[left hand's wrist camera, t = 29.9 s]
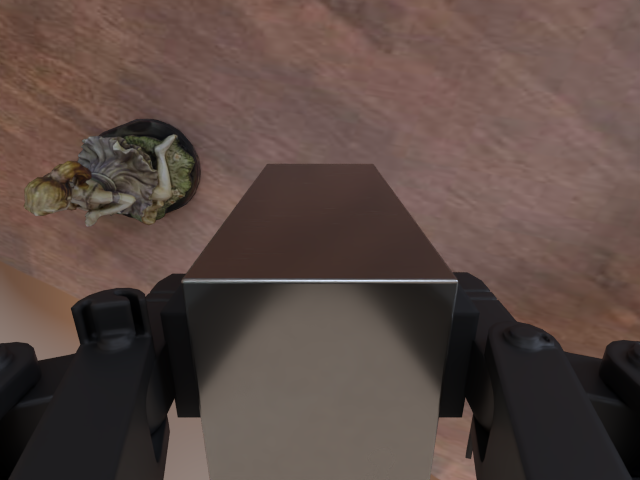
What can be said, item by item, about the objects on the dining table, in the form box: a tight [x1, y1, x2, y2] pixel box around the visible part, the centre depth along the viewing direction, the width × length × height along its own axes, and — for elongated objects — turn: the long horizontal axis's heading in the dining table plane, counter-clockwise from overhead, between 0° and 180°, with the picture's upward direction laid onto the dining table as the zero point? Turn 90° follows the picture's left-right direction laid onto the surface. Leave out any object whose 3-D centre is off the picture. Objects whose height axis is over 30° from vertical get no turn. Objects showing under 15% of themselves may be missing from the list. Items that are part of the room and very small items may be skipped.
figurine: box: [24, 119, 200, 226], centre depth 34 cm, size 12×11×15 cm
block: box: [181, 164, 458, 480], centre depth 13 cm, size 5×5×12 cm
